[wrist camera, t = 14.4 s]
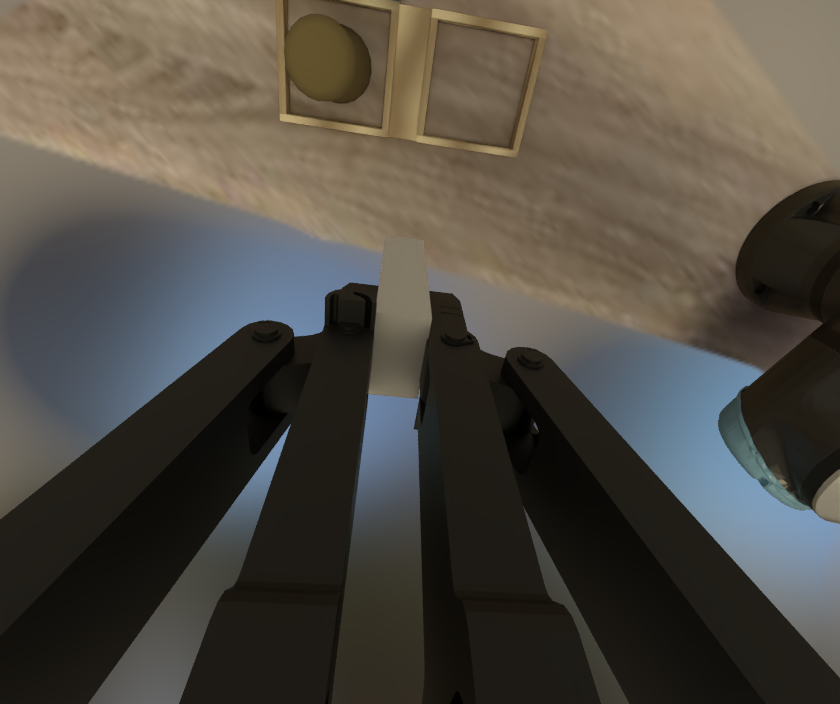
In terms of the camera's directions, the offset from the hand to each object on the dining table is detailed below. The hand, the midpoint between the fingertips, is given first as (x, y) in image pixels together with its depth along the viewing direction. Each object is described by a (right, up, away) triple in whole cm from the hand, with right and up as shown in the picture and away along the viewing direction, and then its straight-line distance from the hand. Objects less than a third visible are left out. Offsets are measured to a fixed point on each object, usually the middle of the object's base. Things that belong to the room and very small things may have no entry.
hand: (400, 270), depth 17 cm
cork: (-7, +23, +21) cm, 32 cm away
